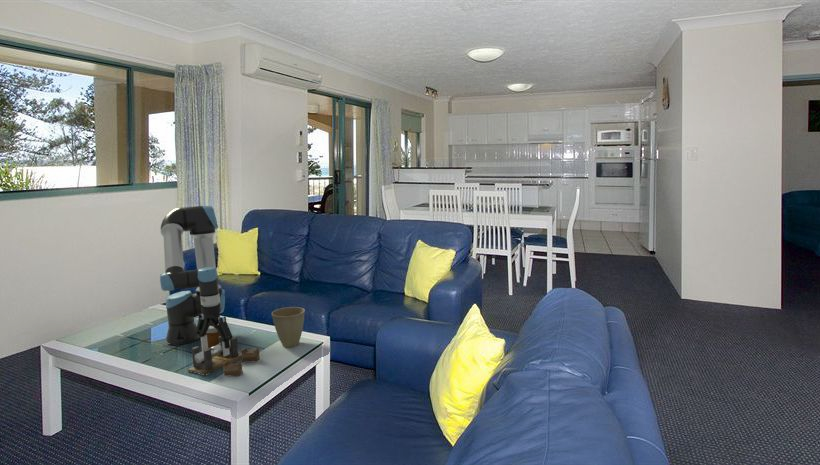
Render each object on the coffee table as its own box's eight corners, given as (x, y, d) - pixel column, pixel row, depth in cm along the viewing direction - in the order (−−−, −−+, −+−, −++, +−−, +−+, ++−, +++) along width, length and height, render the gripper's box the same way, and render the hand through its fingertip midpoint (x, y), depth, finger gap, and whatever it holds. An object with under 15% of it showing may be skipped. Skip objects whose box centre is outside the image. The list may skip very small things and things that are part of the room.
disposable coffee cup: (206, 356, 224) (203, 330, 222) (203, 349, 232) (201, 324, 230) (228, 351, 228) (225, 326, 226) (225, 345, 237) (222, 320, 235)
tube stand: (238, 376, 201) (237, 363, 201) (224, 375, 203) (222, 363, 202) (260, 359, 218) (259, 347, 217) (246, 358, 219) (245, 347, 218)
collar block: (188, 371, 208) (185, 350, 206) (227, 353, 226) (225, 333, 225) (205, 375, 203) (202, 353, 202) (243, 356, 222) (241, 336, 220)
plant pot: (305, 349, 227) (302, 315, 225) (271, 351, 226) (268, 317, 224) (308, 337, 242) (306, 305, 239) (277, 339, 241) (274, 307, 238)
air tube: (202, 364, 205) (201, 354, 204) (194, 362, 207) (193, 352, 206) (235, 348, 221) (234, 339, 220) (228, 347, 223) (227, 338, 222)
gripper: (183, 303, 213) (188, 352, 216) (224, 309, 202) (229, 360, 205) (198, 299, 219) (203, 345, 223) (238, 304, 208) (243, 353, 212)
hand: (215, 353), depth 214 cm, fingers open, 12 cm apart
